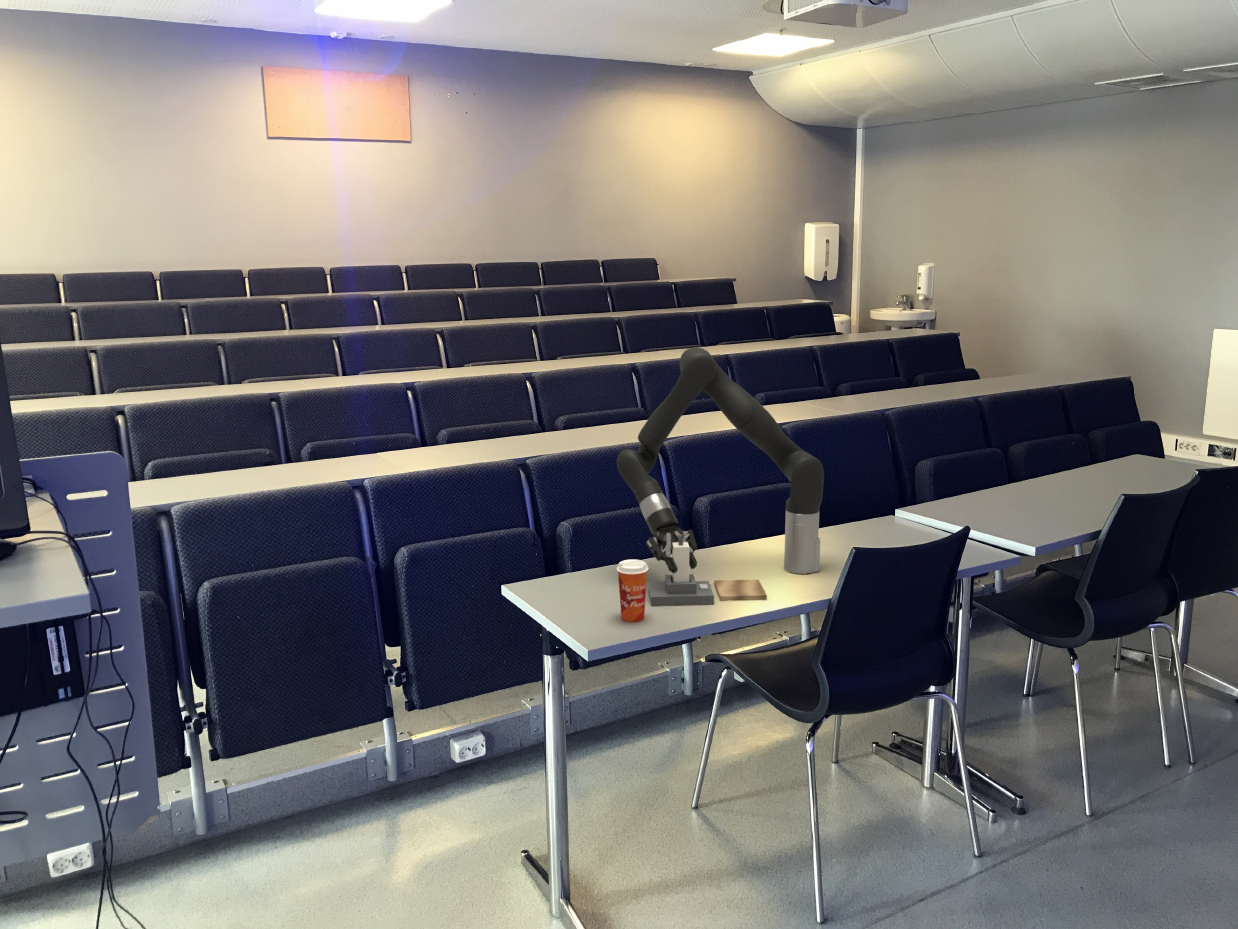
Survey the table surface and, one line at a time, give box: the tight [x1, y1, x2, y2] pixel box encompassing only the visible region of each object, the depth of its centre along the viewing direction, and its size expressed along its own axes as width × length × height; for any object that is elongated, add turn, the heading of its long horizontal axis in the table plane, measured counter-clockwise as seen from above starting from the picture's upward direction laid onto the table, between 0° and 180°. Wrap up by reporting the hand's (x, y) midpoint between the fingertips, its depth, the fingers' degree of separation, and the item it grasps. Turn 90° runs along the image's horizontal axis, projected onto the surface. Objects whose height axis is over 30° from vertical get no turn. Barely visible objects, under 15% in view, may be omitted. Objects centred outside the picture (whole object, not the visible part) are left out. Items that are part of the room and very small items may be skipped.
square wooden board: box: [713, 578, 768, 602], centre depth 246 cm, size 12×12×1 cm
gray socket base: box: [648, 573, 715, 607], centre depth 242 cm, size 16×11×5 cm
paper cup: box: [616, 558, 650, 623], centre depth 228 cm, size 8×8×14 cm
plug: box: [671, 534, 690, 583], centre depth 240 cm, size 4×4×14 cm
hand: (684, 569), depth 239 cm, fingers closed on plug, 5 cm apart
